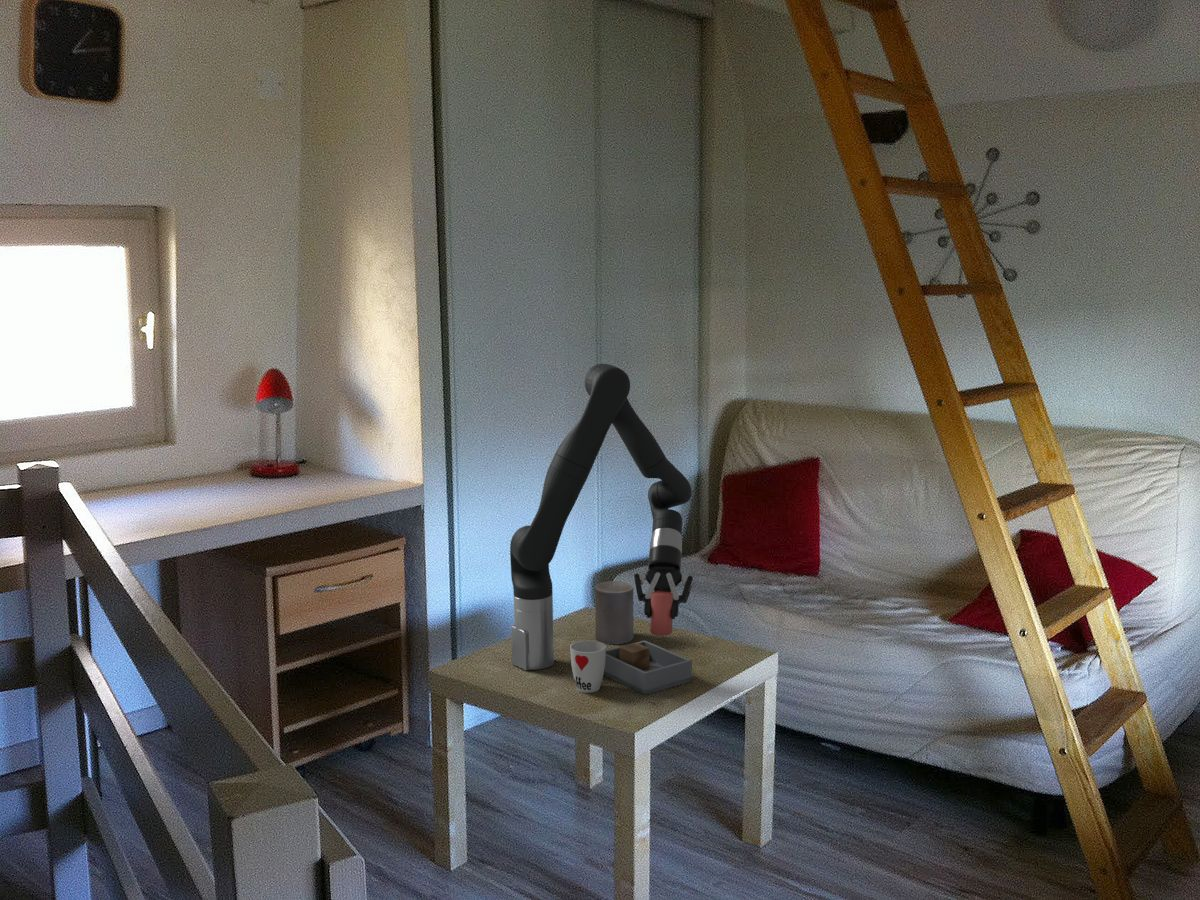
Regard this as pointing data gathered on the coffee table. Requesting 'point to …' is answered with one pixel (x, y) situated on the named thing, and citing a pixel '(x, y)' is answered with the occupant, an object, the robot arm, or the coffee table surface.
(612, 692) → the coffee table surface
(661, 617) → the red capsule
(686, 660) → the tote
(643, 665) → the walnut cube
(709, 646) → the coffee table surface
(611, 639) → the pillar candle
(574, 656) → the cup
